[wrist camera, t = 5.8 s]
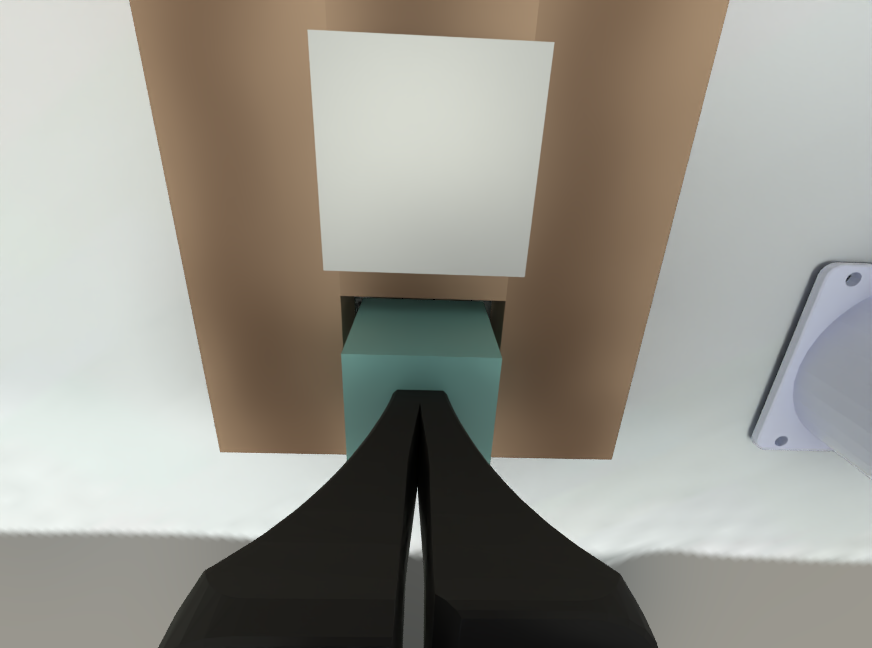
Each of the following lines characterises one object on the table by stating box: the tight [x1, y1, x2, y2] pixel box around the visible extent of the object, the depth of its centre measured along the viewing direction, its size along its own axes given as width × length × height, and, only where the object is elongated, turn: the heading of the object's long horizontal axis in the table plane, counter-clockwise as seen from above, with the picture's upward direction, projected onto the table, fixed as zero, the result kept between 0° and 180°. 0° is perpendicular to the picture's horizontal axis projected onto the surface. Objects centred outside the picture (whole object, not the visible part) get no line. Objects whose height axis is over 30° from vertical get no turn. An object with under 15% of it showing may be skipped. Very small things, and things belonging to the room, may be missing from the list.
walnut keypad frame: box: [129, 0, 729, 460], centre depth 13 cm, size 14×20×2 cm
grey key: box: [307, 30, 554, 277], centre depth 10 cm, size 4×4×4 cm
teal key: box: [341, 298, 502, 464], centre depth 13 cm, size 4×4×4 cm
